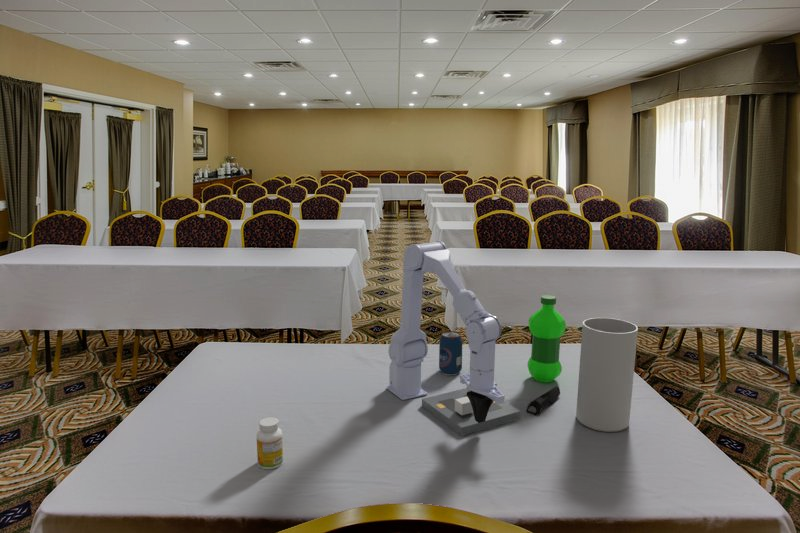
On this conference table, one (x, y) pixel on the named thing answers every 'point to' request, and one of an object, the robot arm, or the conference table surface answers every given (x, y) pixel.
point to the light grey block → (463, 406)
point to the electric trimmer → (543, 401)
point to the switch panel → (466, 423)
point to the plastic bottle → (546, 341)
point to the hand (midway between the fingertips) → (480, 420)
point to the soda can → (450, 352)
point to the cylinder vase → (606, 373)
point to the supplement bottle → (269, 444)
